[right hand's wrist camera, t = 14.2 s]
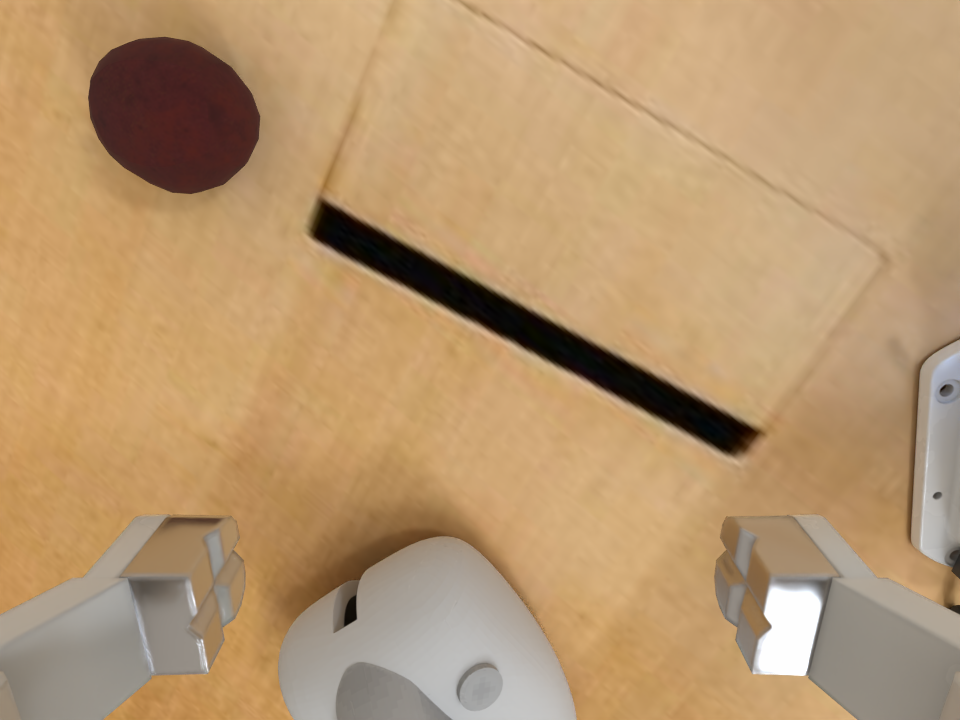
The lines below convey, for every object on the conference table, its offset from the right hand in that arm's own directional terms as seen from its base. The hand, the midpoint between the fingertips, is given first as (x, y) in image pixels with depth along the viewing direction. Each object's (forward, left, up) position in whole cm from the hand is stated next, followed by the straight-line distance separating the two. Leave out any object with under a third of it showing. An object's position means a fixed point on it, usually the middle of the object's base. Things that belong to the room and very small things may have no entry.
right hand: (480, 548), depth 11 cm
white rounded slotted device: (-31, +2, -29) cm, 43 cm away
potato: (+7, +15, -29) cm, 34 cm away
